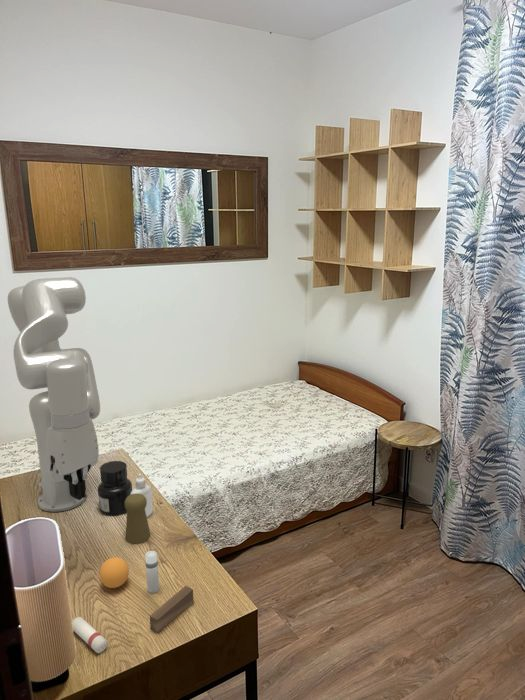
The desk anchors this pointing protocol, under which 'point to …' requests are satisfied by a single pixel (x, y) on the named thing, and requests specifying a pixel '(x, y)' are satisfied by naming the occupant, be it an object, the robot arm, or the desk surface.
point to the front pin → (89, 635)
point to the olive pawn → (136, 519)
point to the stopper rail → (171, 609)
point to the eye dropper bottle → (144, 493)
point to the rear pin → (152, 571)
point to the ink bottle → (113, 488)
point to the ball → (114, 572)
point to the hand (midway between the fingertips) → (78, 496)
